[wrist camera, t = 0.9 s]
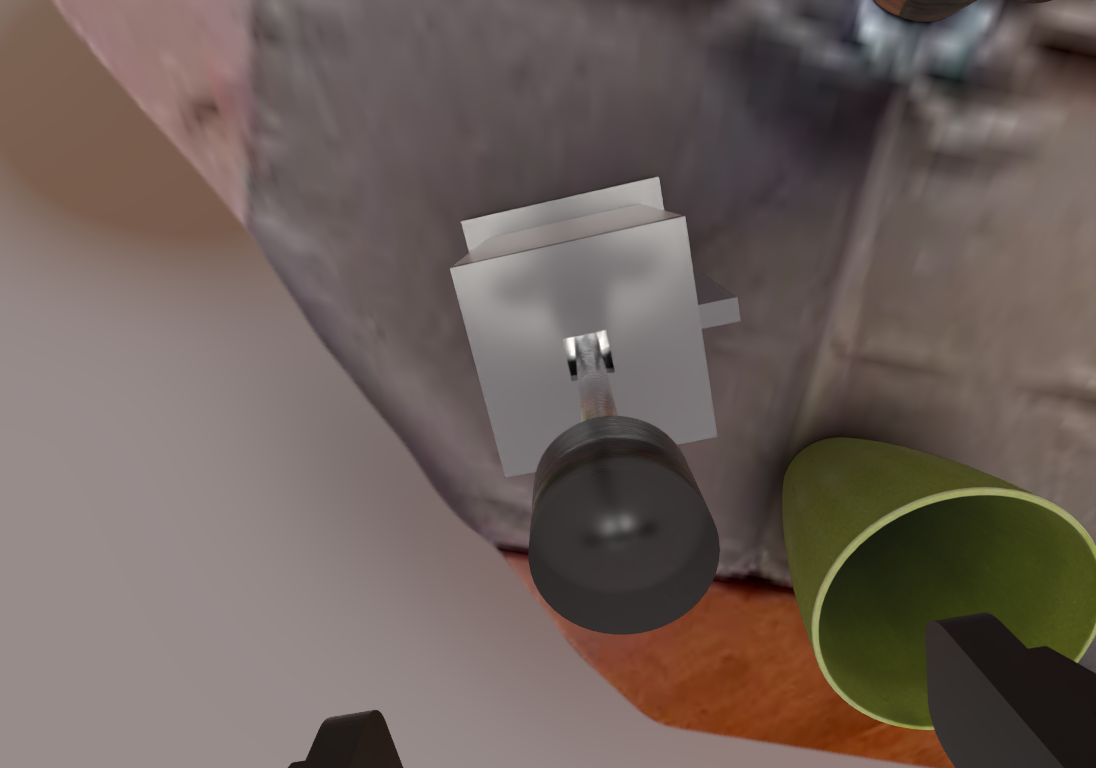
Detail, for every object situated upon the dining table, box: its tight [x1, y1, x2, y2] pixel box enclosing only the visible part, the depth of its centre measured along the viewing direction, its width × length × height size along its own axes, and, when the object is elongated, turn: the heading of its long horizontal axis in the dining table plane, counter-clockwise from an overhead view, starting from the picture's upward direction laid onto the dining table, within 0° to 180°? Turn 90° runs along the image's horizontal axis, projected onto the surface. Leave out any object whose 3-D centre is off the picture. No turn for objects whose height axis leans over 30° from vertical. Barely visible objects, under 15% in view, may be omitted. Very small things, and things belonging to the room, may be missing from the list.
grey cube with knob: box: [450, 177, 741, 478], centre depth 36 cm, size 13×14×16 cm
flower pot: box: [782, 437, 1096, 730], centre depth 40 cm, size 15×15×16 cm
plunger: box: [529, 330, 720, 634], centre depth 22 cm, size 8×8×19 cm
